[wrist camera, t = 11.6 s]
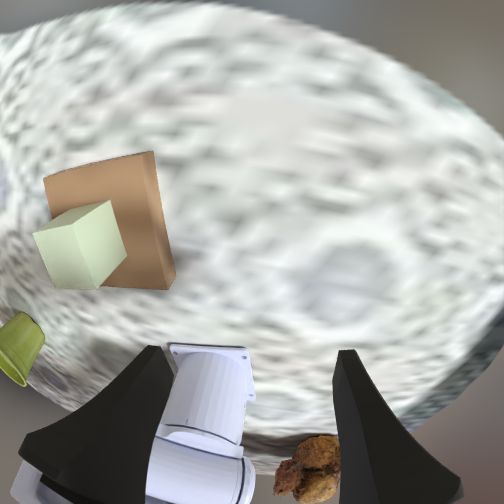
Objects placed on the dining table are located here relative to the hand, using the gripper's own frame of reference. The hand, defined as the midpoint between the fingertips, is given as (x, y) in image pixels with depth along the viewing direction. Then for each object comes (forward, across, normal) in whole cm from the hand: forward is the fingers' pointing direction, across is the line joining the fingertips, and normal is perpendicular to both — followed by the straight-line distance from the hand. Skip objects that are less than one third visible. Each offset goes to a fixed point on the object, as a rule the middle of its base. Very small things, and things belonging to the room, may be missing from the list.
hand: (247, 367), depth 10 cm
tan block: (+11, +12, -3) cm, 17 cm away
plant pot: (+10, +36, +12) cm, 40 cm away
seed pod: (+10, -8, +36) cm, 39 cm away
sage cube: (+8, +12, -3) cm, 15 cm away
